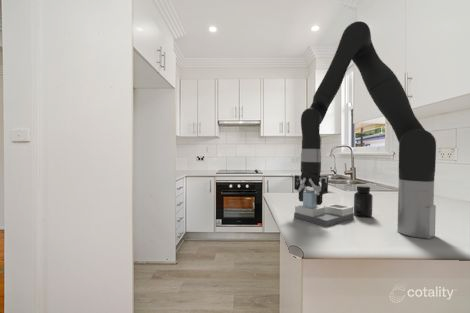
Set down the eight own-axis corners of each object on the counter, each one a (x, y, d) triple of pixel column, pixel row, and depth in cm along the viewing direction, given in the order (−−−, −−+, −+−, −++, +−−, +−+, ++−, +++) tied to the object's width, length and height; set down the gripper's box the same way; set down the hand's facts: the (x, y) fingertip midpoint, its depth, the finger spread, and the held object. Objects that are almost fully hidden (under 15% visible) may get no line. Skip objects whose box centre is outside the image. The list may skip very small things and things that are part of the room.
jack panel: (353, 218, 98) (353, 206, 98) (326, 226, 86) (326, 213, 86) (322, 211, 109) (322, 201, 109) (294, 217, 98) (294, 206, 97)
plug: (317, 213, 97) (317, 190, 97) (311, 214, 94) (311, 191, 94) (308, 211, 100) (309, 189, 100) (302, 212, 97) (303, 189, 97)
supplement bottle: (375, 217, 99) (376, 187, 99) (358, 217, 99) (359, 187, 99) (366, 213, 106) (367, 185, 106) (350, 213, 106) (351, 185, 106)
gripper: (333, 161, 93) (332, 205, 94) (301, 160, 105) (300, 199, 105) (321, 161, 89) (320, 207, 89) (290, 160, 100) (289, 201, 100)
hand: (309, 202), depth 97 cm, fingers open, 7 cm apart
